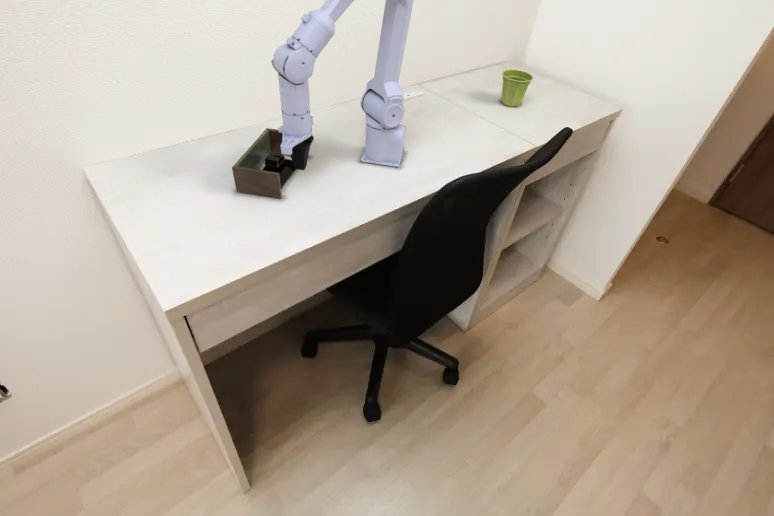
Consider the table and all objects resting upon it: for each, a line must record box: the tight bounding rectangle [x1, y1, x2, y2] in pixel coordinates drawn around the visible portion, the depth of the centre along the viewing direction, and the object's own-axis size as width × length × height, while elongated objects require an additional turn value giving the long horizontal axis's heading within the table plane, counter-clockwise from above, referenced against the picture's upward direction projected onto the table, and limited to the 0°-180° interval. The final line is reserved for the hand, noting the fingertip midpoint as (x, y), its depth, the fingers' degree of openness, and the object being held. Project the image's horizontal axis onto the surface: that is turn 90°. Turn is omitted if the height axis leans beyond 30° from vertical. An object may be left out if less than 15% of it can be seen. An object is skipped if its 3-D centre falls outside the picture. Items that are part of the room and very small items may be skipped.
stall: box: [231, 127, 310, 200], centre depth 100 cm, size 10×19×6 cm, turn 169°
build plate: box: [261, 151, 297, 190], centre depth 100 cm, size 12×7×5 cm, turn 167°
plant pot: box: [500, 69, 534, 107], centre depth 137 cm, size 9×9×9 cm
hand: (300, 168), depth 99 cm, fingers closed
